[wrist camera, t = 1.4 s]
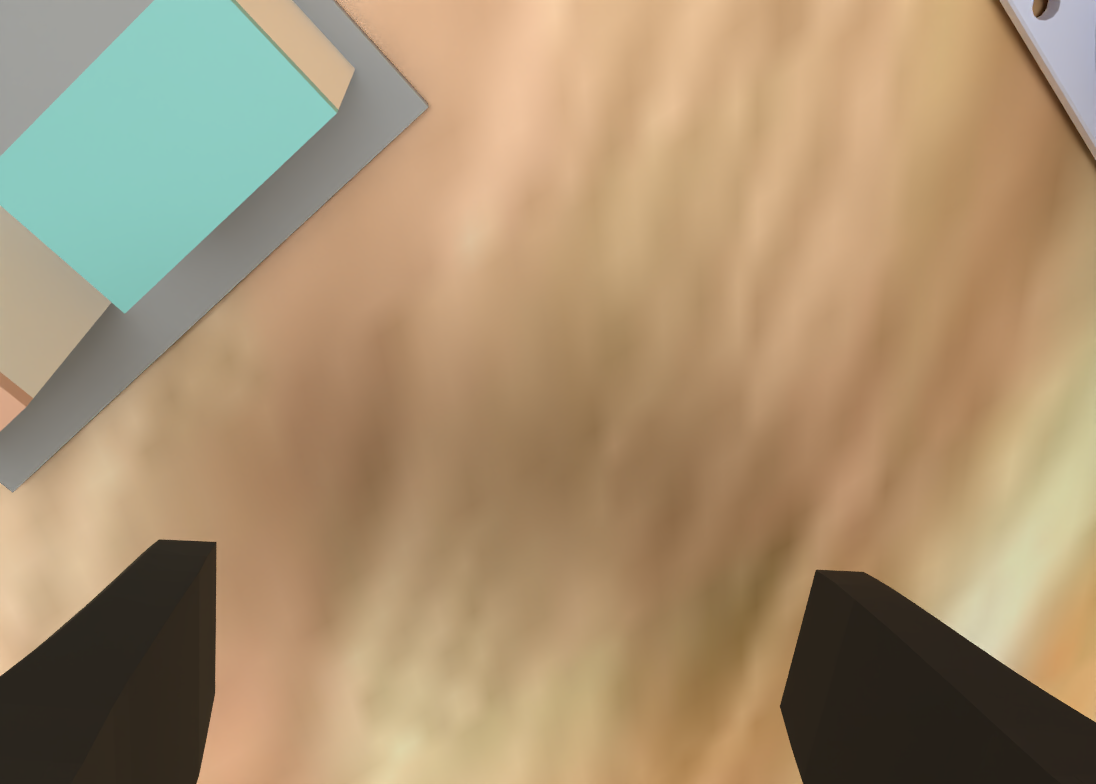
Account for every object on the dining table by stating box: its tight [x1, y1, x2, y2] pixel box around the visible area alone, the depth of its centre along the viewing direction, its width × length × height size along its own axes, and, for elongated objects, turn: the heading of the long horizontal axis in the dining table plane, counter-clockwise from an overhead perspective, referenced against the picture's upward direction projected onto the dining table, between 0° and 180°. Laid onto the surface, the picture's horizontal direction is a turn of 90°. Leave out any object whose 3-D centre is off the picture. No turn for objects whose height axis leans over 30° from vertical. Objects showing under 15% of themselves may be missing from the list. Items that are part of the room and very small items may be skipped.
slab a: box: [0, 0, 355, 314], centre depth 16 cm, size 2×4×5 cm, turn 131°
